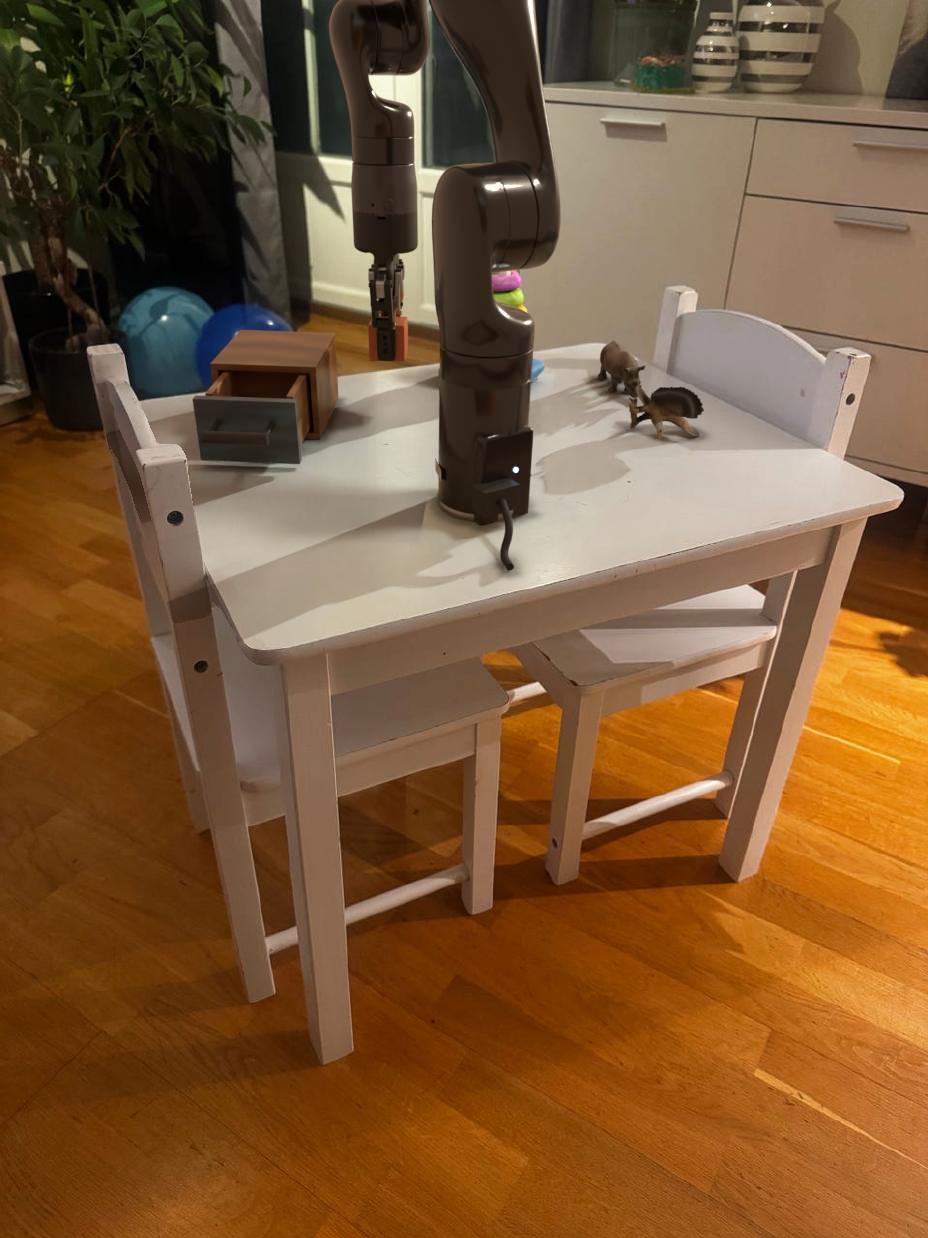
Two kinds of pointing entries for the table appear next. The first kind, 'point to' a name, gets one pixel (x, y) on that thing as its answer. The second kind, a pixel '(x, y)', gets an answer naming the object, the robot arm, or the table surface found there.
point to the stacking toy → (512, 303)
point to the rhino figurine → (620, 368)
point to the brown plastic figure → (667, 408)
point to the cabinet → (288, 364)
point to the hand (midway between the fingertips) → (389, 353)
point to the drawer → (254, 417)
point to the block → (400, 337)
